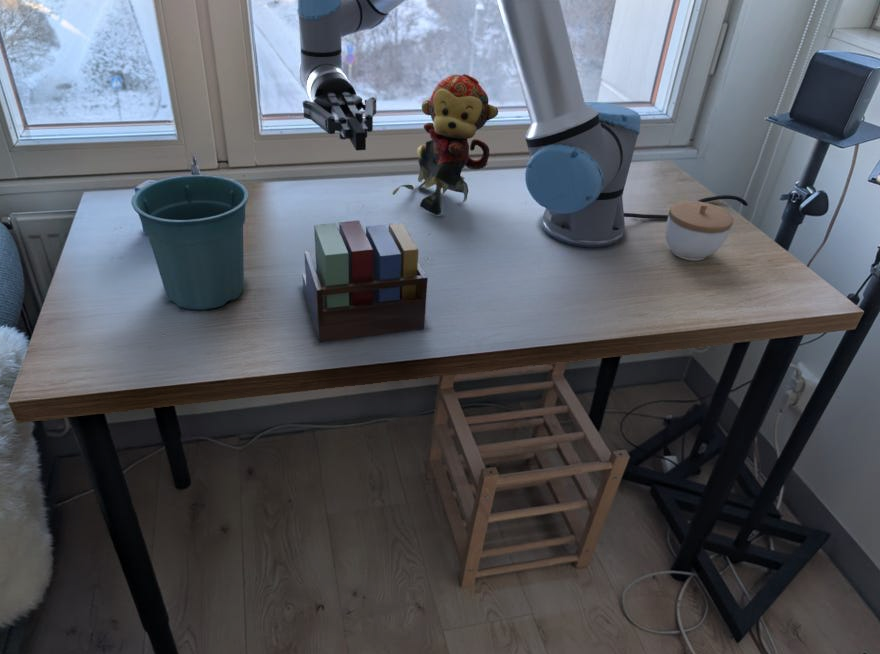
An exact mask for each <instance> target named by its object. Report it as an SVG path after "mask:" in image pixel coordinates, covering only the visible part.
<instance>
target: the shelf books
mask: <svg viewBox="0 0 880 654" xmlns="http://www.w3.org/2000/svg"><path fill="white" fill-rule="evenodd" d="M338 230H339V232H340V234H341V237H342V239H343V242H344V244H345V246H346V249H347V251H348V266H349V284H351V283H360V282H368V281H373V249H372V247H371V244H370V242H369V240H368V238H367V236H366V231H365V230H364V228H363V226H362V224H361V222H360V220H358V219H357V220H350V221H349V220H348V221H339V222H338ZM388 230H389V232H390V234H391V236H392V238H393V240H394V241H395V243H396V245H397V247H398V249H399V251H400V253H401V273H400V278H404V277H413V276H417V267H418V262H419V248H418V246H417V244H416V242H415V241H414V240H413V239H414V238H413V237H412V235H411V233H409V231H408V229H407V227H406V226H405V223H404V222H392V223H388ZM372 292H373V290H366V291H358V292H349V306H351V305H360V304H368V303H372ZM410 298H416V285H410V286H401V287H400V298H399V300H401V299H410Z"/></svg>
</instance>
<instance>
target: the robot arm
mask: <svg viewBox="0 0 880 654" xmlns="http://www.w3.org/2000/svg"><path fill="white" fill-rule="evenodd" d="M406 1H407V0H297V10H296V11H297V14H298V15H297V16H298V28H299V29H298V30H299V43H300V44H299V45H300V62H299V65H298V74H299V81H300V83H301V85H302V87H303V89H304V90H305V91H306V94H307V95H308V97H309V99H310V101H309V100H303V101H302V116H303V118H305V119H308V120H311V121H312V122H313V123H315V125H317V126H318V127H320V128H321V129H322V130H323V131H325V132H326V133H327V134H330V135H333V134H334V135H335V134H336V132H338V134H339V139H340V140H348V139H349V141H350V142H351V144H352V146H353V148H354V149H355V151H356V152H357V151H366V149H367V139H366V138H368V133H372V132H373V129H374V116H375V115H376V114H377V97H374V96H371V97H369V98H365V99H364V100H363V98H362V97H361V96H360V95H358V94H357V92H356V90H355V88H354V86H353V85H352V83H351V82H350V80H349V78H348V77H347V75H345V73H344V72H343V67H342V65H343V63H342V52H343V51H342V50H343V49H342V38H343V37H348V36H351V35H353V34H357V33H360V32H363V31H366V30H371V29H372V30H373V29H374V28H376V27H378V26H380V25H382V24H383V23H385V22H386V21H387V18H388V17H389V16H390V15H389V14H390V13H391V12H392V11H394V10H395V9H397V8H398V7H399V6H401V5H402V4H403V3H405V2H406ZM496 1H497V6H498V8H499V12H500V16H501V19H502V23H503V27H504V31H505V35H506V37H507V41H508V45H509V49H510V52H511V56H512V59H513V63H514V66H515V70H516V74H517V77H518V81H519V85H520V89H521V91H522V95H523V98H524V102H525V106H526V110H527V113H528V117H529V120H530V125H529V127H528V128H527V130H526V132H525V135H524V137H525V143H526V145H527V149H528V152H529V156H530V158H529V160H528V162H527V164H526V168H525V174H524V180H525V181H524V182H525V185H526V188H527V191H528V193H529V194H530V197H531V198H532V199H533V200H534V201H535V202H536V203H537V204H538V205H539V206H541V207H543V208H545V209H544V212H543V215H542V219H541V227H542V229H543V231H544V232H545V233H546V234H547V235H549V236H550V237H552V238H553V239H555V240H557V241H559V242H561V243H563V244H567V245H571V246H574V247H580V248H591V249H593V248H605V247H610V246H613V245H615V244H616V243H618V242H620V241H621V240H622V238H623V235H624V231H625V225H626V224H625V218H637V219H654V220H655V219H656V220H667V219H668V216H669V214H647V213H646V214H645V213H644V214H643V213H635V212H633V213H632V212H625V211H624V202H623V201H624V200H623V195H624V191H625V186H626V183H627V179H628V175H629V173H630V172H629V171H630V167H631V163H632V160H633V156H634V152H635V149H636V148H635V147H636V144H637V140H638V137H639V135H640V132H641V130H640V128H641V123H642V117H641V115H640V114H639V112H637V111H636V110H634V109H631V108H630V107H625V106H622V105H618V104H613V103H607V102H600V101H585V99H584V94H583V91H582V87H581V82H580V78H579V74H578V70H577V66H576V61H575V57H574V54H573V49H572V46H571V41H570V37H569V32H568V30H567V25H566V22H565V17H564V14H563V9H562V6H561V1H560V0H496ZM360 111H361V112H360ZM362 111H364V113H363V112H362ZM363 114H364V115H363ZM717 200H732V201H733V200H734V201H737V202H739V203H740V204H742V205H743V206H745V207H747V206H749V203H748V202H747V201H746V199H743V198H742V197H740V196H738V195H730V194H726V195H725V194H724V195H714V196H708V197H704V198H700V199H699V200H698V201H699V202H705V203H708V202H711V201H712V202H713V201H717Z"/></svg>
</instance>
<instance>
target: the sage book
mask: <svg viewBox="0 0 880 654" xmlns="http://www.w3.org/2000/svg"><path fill="white" fill-rule="evenodd" d="M313 229H314V230H313V231H314V232H313V233H314V252H315V253H314V254H315V269H316V272H317V275H318V278H319V281H320V284H321V287H324V286H333V285H342V284H349V266H348V251H347V249H346V246H345V244H344V242H343V239H342V237H341V234H340V232H339V226H338V224H337V223H336V222H334V223H333V222H332V223H323V224H313ZM343 306H349V293H341V294H332V295H323V309H327V308H335V307H343Z"/></svg>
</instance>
